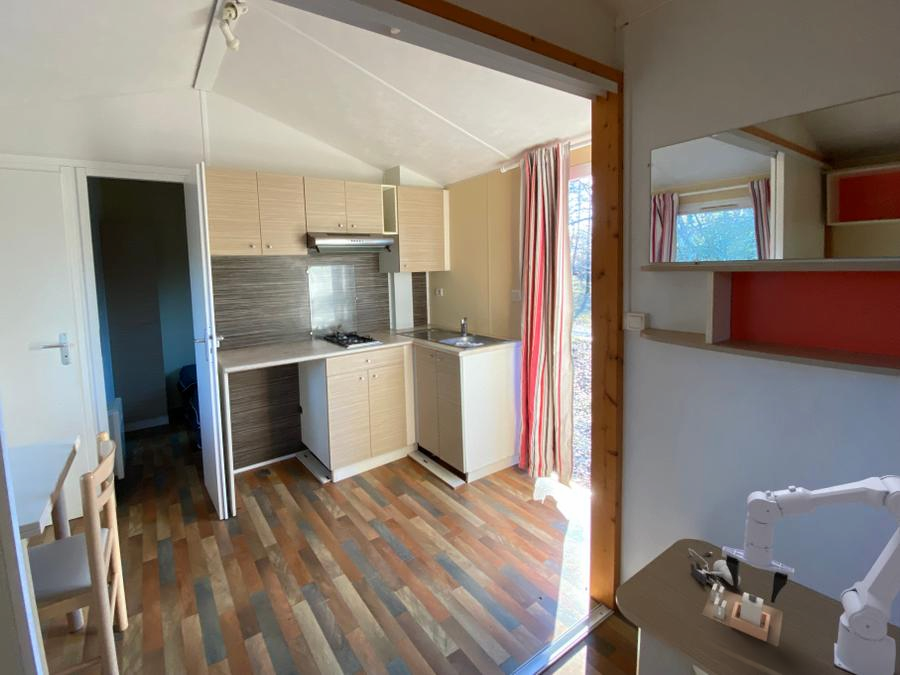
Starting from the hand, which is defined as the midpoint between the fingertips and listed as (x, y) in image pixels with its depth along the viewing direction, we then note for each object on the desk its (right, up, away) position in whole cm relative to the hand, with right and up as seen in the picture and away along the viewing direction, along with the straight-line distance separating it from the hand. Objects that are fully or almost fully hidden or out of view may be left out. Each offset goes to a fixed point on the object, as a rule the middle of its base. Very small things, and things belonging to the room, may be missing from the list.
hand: (754, 593), depth 111 cm
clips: (-5, -8, +7) cm, 11 cm away
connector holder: (0, -9, +1) cm, 9 cm away
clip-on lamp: (+2, -7, +22) cm, 23 cm away
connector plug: (-1, -8, +1) cm, 8 cm away
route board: (0, -9, +5) cm, 10 cm away
